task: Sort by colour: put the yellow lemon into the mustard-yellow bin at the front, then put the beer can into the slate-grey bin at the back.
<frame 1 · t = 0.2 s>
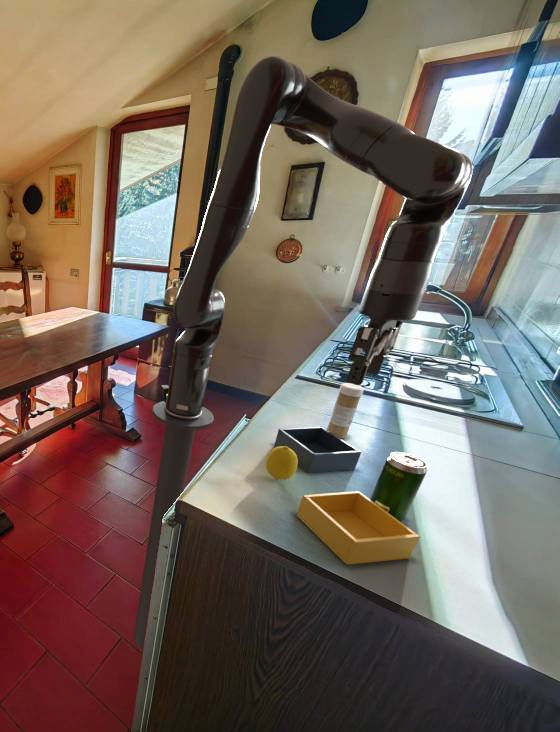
hand: (362, 378, 71), 24 cm above the counter, tool pointing down, fingers open, 8 cm apart
yellow bin: (348, 535, 67), on the counter
slate bin: (312, 457, 89), on the counter
beer can: (383, 515, 72), on the counter
sprinkles bottle: (335, 434, 99), on the counter
lemon: (276, 480, 81), on the counter
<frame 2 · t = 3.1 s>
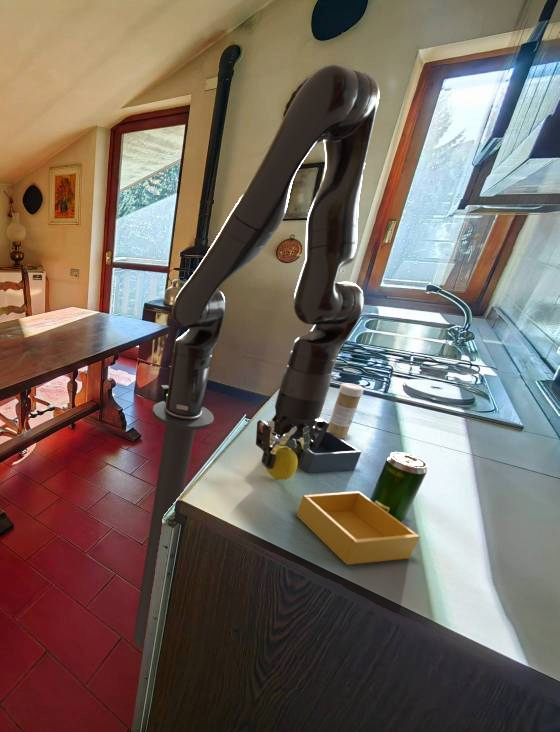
hand: (280, 465, 80), 4 cm above the counter, tool pointing down, fingers closed on lemon, 5 cm apart
lemon: (276, 480, 81), on the counter, touching gripper
everything else where it was.
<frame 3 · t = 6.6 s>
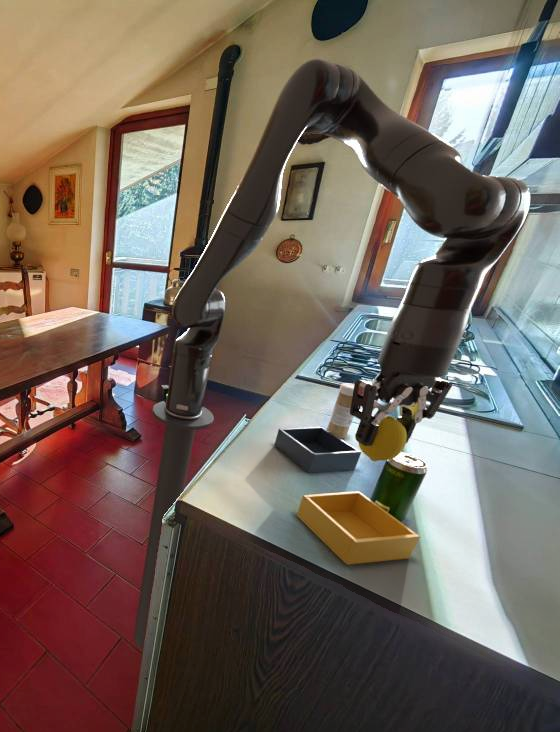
hand: (380, 441, 61), 18 cm above the counter, tool pointing down, fingers closed on lemon, 5 cm apart
lemon: (372, 461, 62), point 14 cm above the counter, touching gripper
everything else where it was.
when the fingers open (4 cm above the counter, at t = 10.3 s): lemon stays where it is, resting on yellow bin.
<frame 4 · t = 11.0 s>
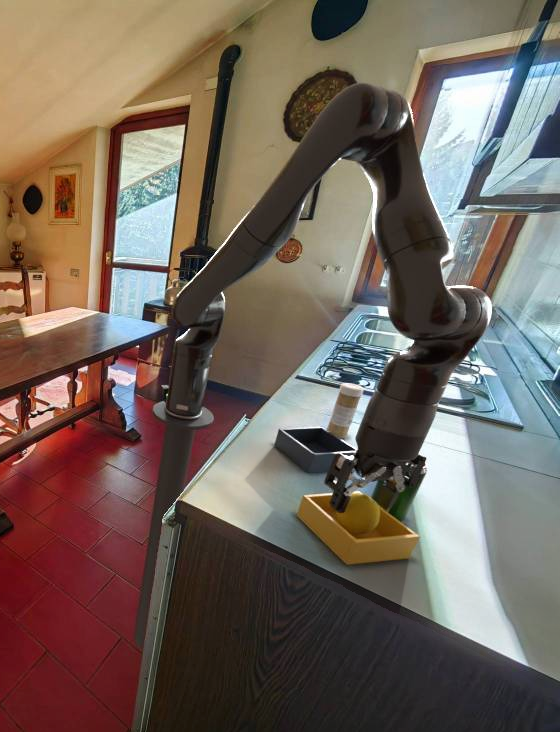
hand: (359, 507, 65), 6 cm above the counter, tool pointing down, fingers open, 8 cm apart
lemon: (349, 533, 67), resting on yellow bin
everything else where it was.
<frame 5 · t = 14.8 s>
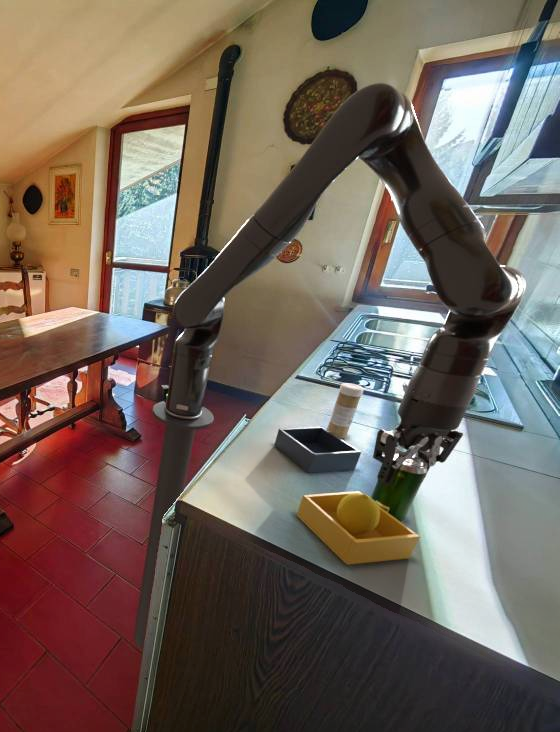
hand: (398, 481, 69), 7 cm above the counter, tool pointing down, fingers closed on beer can, 5 cm apart
beer can: (383, 515, 72), on the counter, touching gripper
everything else where it was.
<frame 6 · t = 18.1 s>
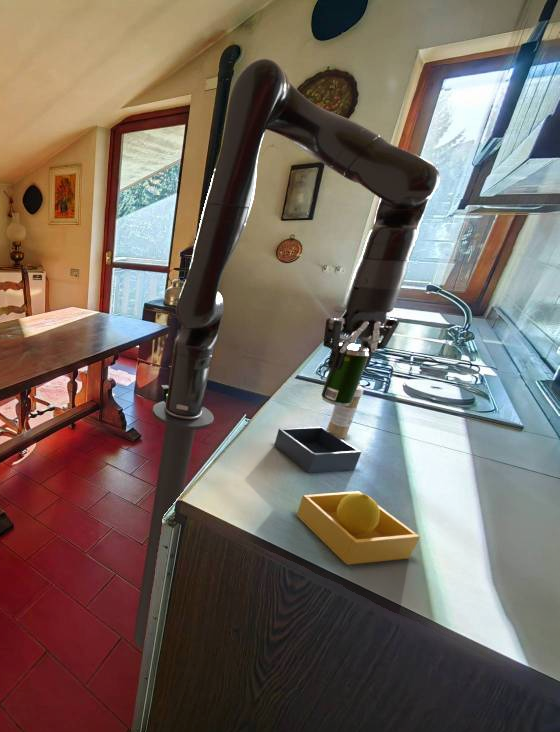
hand: (346, 368, 79), 22 cm above the counter, tool pointing down, fingers closed on beer can, 5 cm apart
beer can: (335, 401, 82), point 15 cm above the counter, touching gripper
everything else where it was.
when the fingers open (8 cm above the counter, at t = 21.9 s): beer can stays where it is, resting on slate bin.
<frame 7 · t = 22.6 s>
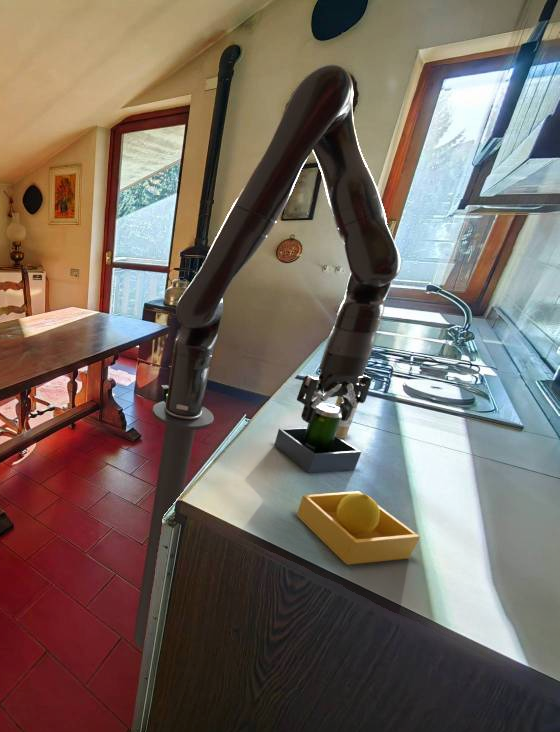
hand: (324, 420, 86), 10 cm above the counter, tool pointing down, fingers open, 8 cm apart
beer can: (313, 455, 89), resting on slate bin
everything else where it was.
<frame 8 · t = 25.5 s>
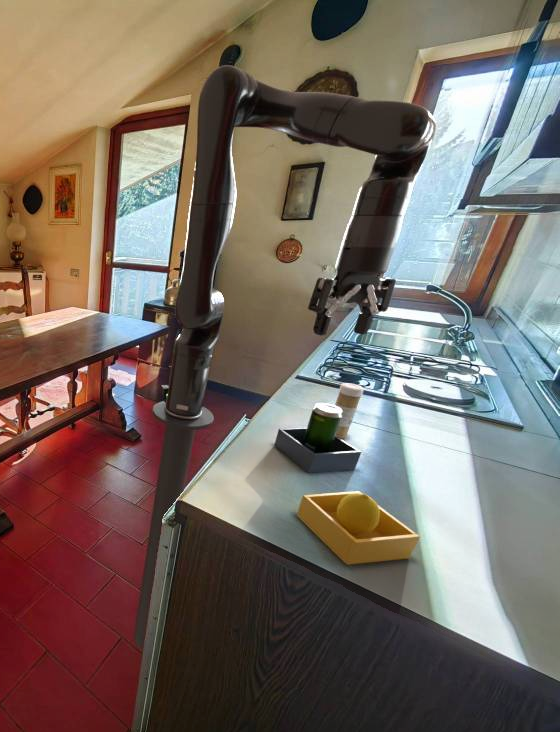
hand: (339, 334, 74), 30 cm above the counter, tool pointing down, fingers open, 8 cm apart
nothing on the counter moved.
at the end: lemon inside the target area in the yellow bin (0.1 cm from its centre), point 0.4 cm above the yellow bin's base; beer can inside the target area in the slate bin (0.0 cm from its centre), point 0.4 cm above the slate bin's base; beer can tilted 0° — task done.
